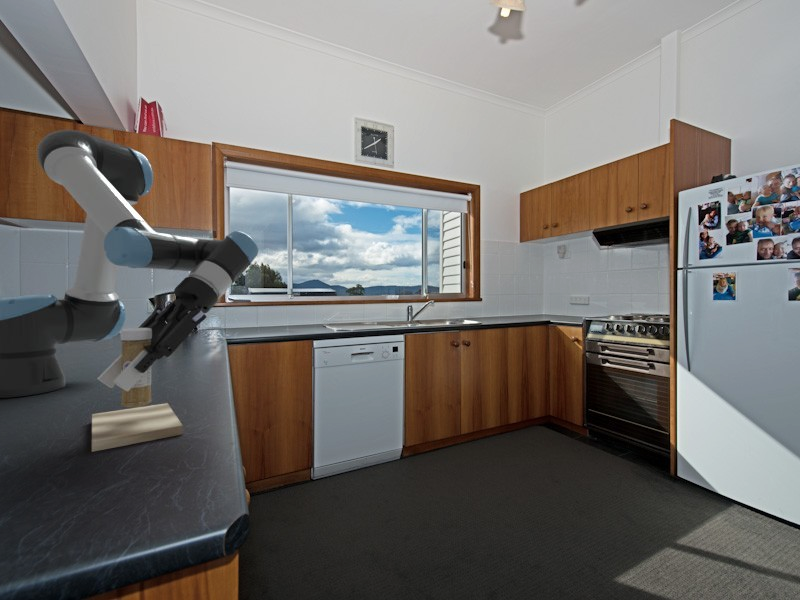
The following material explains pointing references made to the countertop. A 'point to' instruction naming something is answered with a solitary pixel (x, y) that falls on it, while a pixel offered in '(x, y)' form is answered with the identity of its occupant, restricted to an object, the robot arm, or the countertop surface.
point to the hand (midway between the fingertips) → (112, 384)
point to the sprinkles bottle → (131, 348)
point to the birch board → (133, 426)
